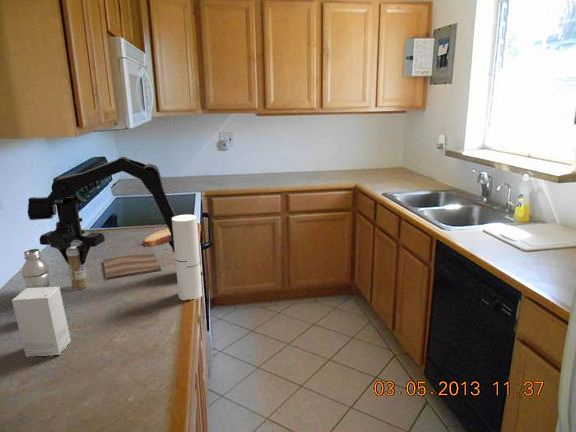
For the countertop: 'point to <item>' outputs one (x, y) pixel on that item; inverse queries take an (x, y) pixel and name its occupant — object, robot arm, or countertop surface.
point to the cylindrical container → (187, 256)
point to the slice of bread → (157, 238)
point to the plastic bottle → (35, 270)
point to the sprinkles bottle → (76, 269)
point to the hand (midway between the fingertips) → (76, 264)
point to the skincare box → (41, 321)
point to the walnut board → (130, 265)
